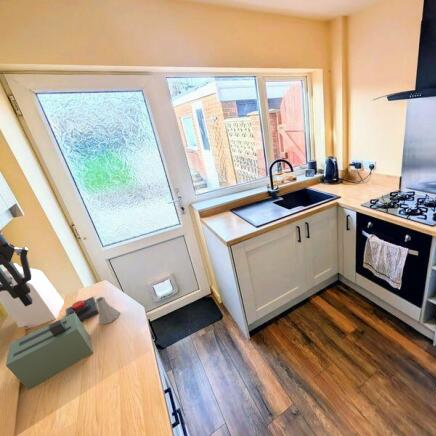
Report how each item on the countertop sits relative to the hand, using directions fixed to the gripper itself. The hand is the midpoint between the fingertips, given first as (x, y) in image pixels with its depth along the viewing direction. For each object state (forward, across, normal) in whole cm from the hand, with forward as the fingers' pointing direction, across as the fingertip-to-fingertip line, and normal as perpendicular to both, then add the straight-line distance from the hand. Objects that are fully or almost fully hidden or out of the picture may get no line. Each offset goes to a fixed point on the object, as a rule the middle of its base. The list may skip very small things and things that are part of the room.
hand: (29, 303), depth 75 cm
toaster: (+26, -2, +2) cm, 26 cm away
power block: (+26, +6, +25) cm, 37 cm away
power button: (+22, +6, +25) cm, 34 cm away
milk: (+26, -7, +38) cm, 47 cm away
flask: (+26, +14, +12) cm, 32 cm away
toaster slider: (+14, +2, 0) cm, 14 cm away
